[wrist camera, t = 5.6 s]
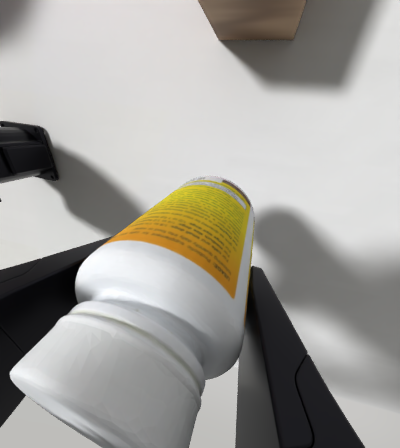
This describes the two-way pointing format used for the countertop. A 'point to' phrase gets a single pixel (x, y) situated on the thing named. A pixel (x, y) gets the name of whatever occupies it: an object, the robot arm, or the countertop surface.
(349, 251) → the countertop surface
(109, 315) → the supplement bottle
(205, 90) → the countertop surface
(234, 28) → the walnut block
